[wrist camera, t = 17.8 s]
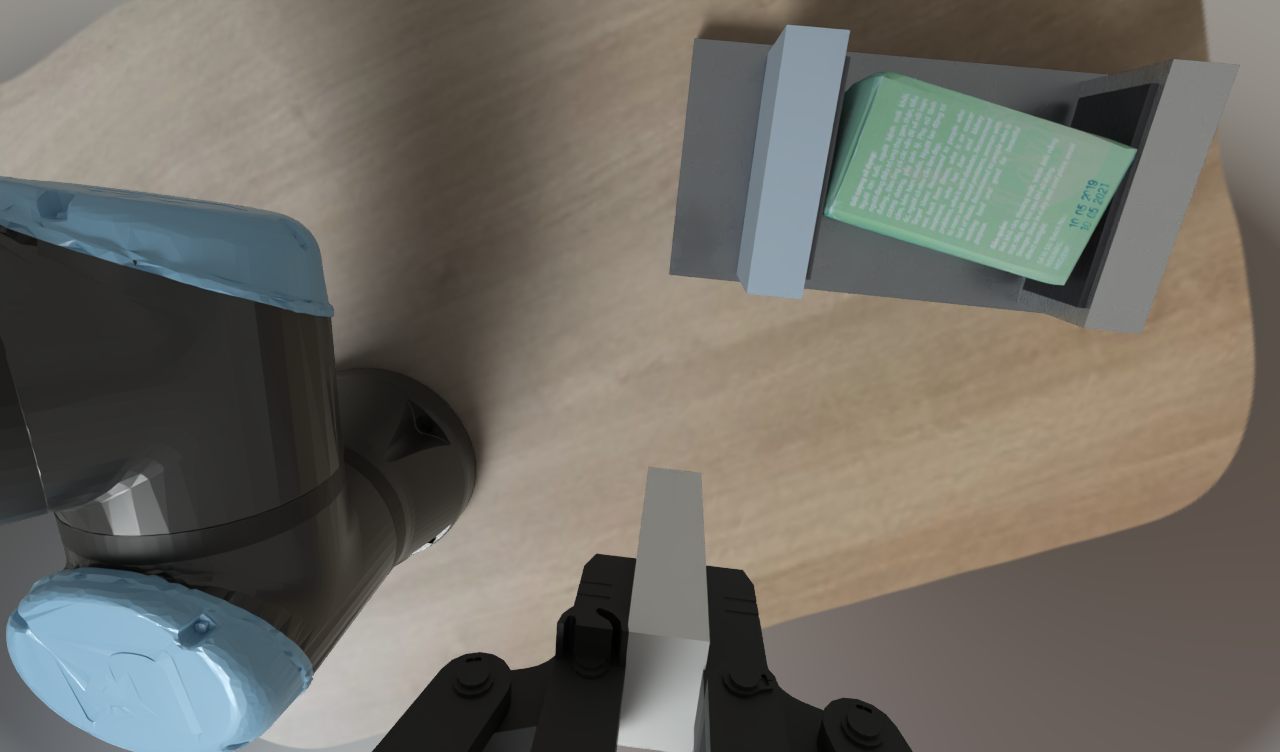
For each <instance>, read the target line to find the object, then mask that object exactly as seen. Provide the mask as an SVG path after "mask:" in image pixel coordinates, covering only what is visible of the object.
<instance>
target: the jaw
mask: <svg viewBox="0 0 1280 752" xmlns="http://www.w3.org/2000/svg"><path fill="white" fill-rule="evenodd" d="M849 34H850V30H843V29H831V28H820V27H808V26H796V25H786V27H785V28H784V30H783V31H782V33H781V34H780V36H779V37H778V39H777V40H776V42H775V44H774V45H773V47H772V48H771V50H770V51H769V53H768V57H767V64H766V71H765V78H764V85H763V92H762V99H761V106H760V113H759V120H758V127H757V134H756V141H755V148H754V155H753V162H752V169H751V176H750V183H749V190H748V197H747V204H746V211H745V218H744V225H743V232H742V239H741V246H740V253H739V260H738V267H737V276H738V278H739V280H740V282H741V284H742V286H743V288H744V289H745V291H746V293H747V294H756V295H765V296H775V297H785V298H794V299H802V296H803V290H804V284H805V279H806V280H810V279H811V274H812V268H813V263H814V257H815V252H816V246H817V241H818V236H819V230H820V225H821V219H822V214H823V208H824V203H825V197H826V192H827V186H828V181H829V175H830V170H831V164H832V159H833V153H834V148H835V142H836V137H837V131H838V126H839V120H840V115H841V109H842V104H843V98H844V93H845V87H846V82H847V76H848V71H849V65H850V60H851V57H849V56H846V50H847V45H848V39H849Z"/></svg>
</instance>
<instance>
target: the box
mask: <svg viewBox="0 0 1280 752" xmlns="http://www.w3.org/2000/svg"><path fill="white" fill-rule="evenodd" d="M1136 152H1137V149H1135V148H1132V147H1130V146H1127V145H1124V144H1122V143H1119V142H1116V141H1114V140H1111V139H1108V138H1105V137H1101V136H1098V135H1095V134H1091V133H1088V132H1085V131H1081V130H1078V129H1075V128H1072V127H1068V126H1065V125H1062V124H1058V123H1055V122H1052V121H1049V120H1045V119H1042V118H1039V117H1036V116H1032V115H1029V114H1026V113H1022V112H1019V111H1016V110H1013V109H1009V108H1006V107H1003V106H1000V105H997V104H994V103H991V102H988V101H985V100H981V99H978V98H975V97H972V96H969V95H965V94H962V93H959V92H956V91H952V90H949V89H946V88H943V87H939V86H936V85H933V84H930V83H927V82H924V81H920V80H917V79H914V78H911V77H908V76H905V75H903V74H900V73H898V72H895V71H882V72H876V73H874V74H872V75H870V76H868V77H866V78H864V79H862V80H860V81H858V82H855V83H854V84H853V85H852V86H851V87H850V88H849V89H848V90H847V91H846V93H845V95H844V99H843V104H842V109H841V115H840V120H839V126H838V131H837V137H836V142H835V148H834V153H833V159H832V164H831V170H830V175H829V181H828V186H827V192H826V197H825V203H824V208H823V214H822V215H823V216H826V217H829V218H832V219H835V220H838V221H841V222H845V223H848V224H851V225H854V226H857V227H860V228H864V229H867V230H870V231H874V232H877V233H880V234H884V235H887V236H890V237H894V238H897V239H900V240H903V241H907V242H910V243H913V244H917V245H920V246H923V247H927V248H930V249H933V250H937V251H940V252H944V253H947V254H950V255H954V256H957V257H960V258H964V259H967V260H970V261H974V262H977V263H980V264H983V265H987V266H990V267H993V268H997V269H1000V270H1003V271H1007V272H1010V273H1013V274H1017V275H1020V276H1023V277H1027V278H1030V279H1033V280H1037V281H1040V282H1044V283H1049V284H1054V285H1065V283H1066V281H1067V279H1068V277H1069V276H1070V274H1071V272H1072V270H1073V268H1074V266H1075V265H1076V263H1077V261H1078V259H1079V257H1080V255H1081V254H1082V252H1083V250H1084V248H1085V246H1086V245H1087V243H1088V241H1089V239H1090V237H1091V235H1092V234H1093V232H1094V230H1095V228H1096V226H1097V224H1098V223H1099V221H1100V219H1101V217H1102V215H1103V214H1104V212H1105V210H1106V208H1107V206H1108V204H1109V203H1110V201H1111V199H1112V197H1113V195H1114V194H1115V192H1116V190H1117V188H1118V186H1119V184H1120V183H1121V181H1122V179H1123V177H1124V175H1125V173H1126V172H1127V170H1128V168H1129V166H1130V165H1131V163H1132V161H1133V159H1134V158H1135V155H1136Z"/></svg>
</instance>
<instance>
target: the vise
mask: <svg viewBox="0 0 1280 752" xmlns="http://www.w3.org/2000/svg"><path fill="white" fill-rule="evenodd" d="M772 47H773V45H766V44H755V43H743V42H732V41H720V40H709V39H697V38H694V48H693V57H692V66H691V76H690V85H689V94H688V104H687V113H686V122H685V132H684V141H683V150H682V160H681V169H680V178H679V188H678V197H677V206H676V216H675V225H674V234H673V244H672V253H671V262H670V272H669V275H679V276H689V277H698V278H708V279H718V280H727V281H737V282H740V280H739V278H738V276H737V267H738V260H739V253H740V246H741V239H742V232H743V225H744V218H745V211H746V204H747V197H748V190H749V183H750V176H751V169H752V162H753V155H754V148H755V141H756V134H757V127H758V120H759V113H760V106H761V99H762V92H763V85H764V78H765V71H766V64H767V57H768V53H769V51H770V50H771V48H772ZM846 56H849V57H851V60H850V65H849V71H848V76H847V82H846V87H845V93H846V91H847V90H848V89H849V88H850V87H851V86H852V85H853V84H854V83H855V82H858V81H860V80H862V79H864V78H866V77H868V76H870V75H872V74H874V73H876V72H882V71H895V72H898V73H900V74H903V75H905V76H908V77H911V78H914V79H917V80H920V81H924V82H927V83H930V84H933V85H936V86H939V87H943V88H946V89H949V90H952V91H956V92H959V93H962V94H965V95H969V96H972V97H975V98H978V99H981V100H985V101H988V102H991V103H994V104H997V105H1000V106H1003V107H1006V108H1009V109H1013V110H1016V111H1019V112H1022V113H1026V114H1029V115H1032V116H1036V117H1039V118H1042V119H1045V120H1049V121H1052V122H1055V123H1058V124H1062V125H1065V126H1068V127H1072V128H1075V129H1078V130H1081V131H1085V132H1088V133H1091V134H1095V135H1098V136H1101V137H1105V138H1108V139H1111V140H1114V141H1116V142H1119V143H1122V144H1124V145H1127V146H1130V147H1132V148H1135V149H1137V152H1136V155H1135V158H1134V159H1133V161H1132V163H1131V165H1130V166H1129V168H1128V170H1127V172H1126V173H1125V175H1124V177H1123V179H1122V181H1121V183H1120V184H1119V186H1118V188H1117V190H1116V192H1115V194H1114V195H1113V197H1112V199H1111V201H1110V203H1109V204H1108V206H1107V208H1106V210H1105V212H1104V214H1103V215H1102V217H1101V219H1100V221H1099V223H1098V224H1097V226H1096V228H1095V230H1094V232H1093V234H1092V235H1091V237H1090V239H1089V241H1088V243H1087V245H1086V246H1085V248H1084V250H1083V252H1082V254H1081V255H1080V257H1079V259H1078V261H1077V263H1076V265H1075V266H1074V268H1073V270H1072V272H1071V274H1070V276H1069V277H1068V279H1067V281H1066V283H1065V285H1054V284H1049V283H1044V282H1040V281H1037V280H1033V279H1030V278H1027V277H1023V276H1020V275H1017V274H1013V273H1010V272H1007V271H1003V270H1000V269H997V268H993V267H990V266H987V265H983V264H980V263H977V262H974V261H970V260H967V259H964V258H960V257H957V256H954V255H950V254H947V253H944V252H940V251H937V250H933V249H930V248H927V247H923V246H920V245H917V244H913V243H910V242H907V241H903V240H900V239H897V238H894V237H890V236H887V235H884V234H880V233H877V232H874V231H870V230H867V229H864V228H860V227H857V226H854V225H851V224H848V223H845V222H841V221H838V220H835V219H832V218H829V217H826V216H823V215H822V219H821V225H820V230H819V236H818V241H817V246H816V252H815V257H814V263H813V268H812V274H811V279H810V280H806V279H805V284H804V288H805V289H814V290H824V291H834V292H843V293H853V294H863V295H872V296H882V297H892V298H901V299H911V300H921V301H930V302H940V303H950V304H959V305H969V306H979V307H988V308H998V309H1008V310H1017V311H1027V312H1037V313H1045V314H1048V315H1050V316H1053V317H1056V318H1058V319H1061V320H1064V321H1066V322H1069V323H1072V324H1074V325H1077V326H1080V327H1082V328H1088V329H1098V330H1108V331H1117V332H1127V333H1136V334H1141V333H1142V330H1143V327H1144V325H1145V322H1146V319H1147V316H1148V314H1149V311H1150V308H1151V306H1152V303H1153V300H1154V297H1155V295H1156V292H1157V289H1158V286H1159V284H1160V281H1161V278H1162V276H1163V273H1164V270H1165V267H1166V265H1167V262H1168V259H1169V257H1170V254H1171V251H1172V248H1173V246H1174V243H1175V240H1176V237H1177V235H1178V232H1179V229H1180V227H1181V224H1182V221H1183V218H1184V216H1185V213H1186V210H1187V208H1188V205H1189V202H1190V199H1191V197H1192V194H1193V191H1194V188H1195V186H1196V183H1197V180H1198V178H1199V175H1200V172H1201V169H1202V167H1203V164H1204V161H1205V159H1206V156H1207V153H1208V150H1209V148H1210V145H1211V142H1212V140H1213V137H1214V134H1215V131H1216V129H1217V126H1218V123H1219V120H1220V118H1221V115H1222V112H1223V109H1224V107H1225V104H1226V101H1227V99H1228V96H1229V93H1230V90H1231V88H1232V85H1233V82H1234V80H1235V77H1236V74H1237V71H1238V68H1239V66H1240V65H1236V64H1225V63H1213V62H1202V61H1190V60H1178V59H1172V60H1168V61H1164V62H1160V63H1156V64H1152V65H1148V66H1144V67H1140V68H1135V69H1131V70H1127V71H1123V72H1119V73H1115V74H1111V75H1108V74H1097V73H1086V72H1074V71H1063V70H1051V69H1040V68H1029V67H1017V66H1006V65H994V64H983V63H971V62H960V61H949V60H937V59H926V58H914V57H903V56H892V55H880V54H869V53H857V52H846ZM845 93H844V95H845ZM843 99H844V98H843Z"/></svg>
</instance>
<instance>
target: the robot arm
mask: <svg viewBox="0 0 1280 752" xmlns="http://www.w3.org/2000/svg"><path fill="white" fill-rule="evenodd" d="M333 316H334V309H333V306H332V305H331V304H329V301H328V296H327V290H326V285H325V279H324V273H323V266H322V259H321V253H320V249H319V246H318V243H317V241H316V239H315V238H314V236H313V235H312V233H311V232H310V231H309V230H308V229H307V228H306V227H305V226H304V225H303V224H301V223H300V222H298V221H297V220H295V219H293V218H291V217H289V216H286V215H284V214H280V213H276V212H272V211H267V210H261V209H256V208H250V207H244V206H238V205H232V204H225V203H218V202H212V201H205V200H198V199H190V198H183V197H175V196H168V195H161V194H153V193H146V192H138V191H130V190H122V189H114V188H106V187H98V186H89V185H81V184H72V183H61V182H51V181H38V180H26V179H18V178H12V177H3V176H0V526H2V525H6V524H10V523H13V522H17V521H21V520H25V519H28V518H32V517H36V516H40V515H44V514H48V513H52V512H54V514H55V518H56V521H57V525H58V528H59V532H60V535H61V540H62V544H63V547H64V551H65V555H66V566H65V568H64V570H62V571H61V572H53V573H51V574H49V575H47V576H46V577H44V578H42V579H41V580H39V581H37V582H36V583H35V584H34V585H33V586H32V588H31V591H30V593H28V594H27V595H26V596H25V597H24V598H23V599H22V600H21V601H20V604H19V607H18V608H16V609H15V610H14V611H13V613H12V614H11V615H10V617H9V621H8V624H7V628H6V639H7V646H8V651H9V654H10V657H11V659H12V662H13V664H14V666H15V668H16V670H17V671H18V673H19V674H20V676H21V677H22V679H23V680H24V681H25V683H26V684H27V685H28V687H29V688H30V689H31V690H32V691H33V692H34V693H35V694H36V696H37V697H39V698H40V699H41V700H42V701H43V702H44V703H45V704H46V705H47V706H48V707H49V708H51V709H52V710H53V711H55V712H56V713H57V714H58V715H60V716H61V717H63V718H64V719H66V720H67V721H69V722H70V723H71V724H73V725H75V726H76V727H79V728H81V729H82V730H85V731H86V732H88V733H89V734H91V735H93V736H95V737H97V738H99V739H101V740H103V741H105V742H108V743H110V744H113V745H115V746H118V747H121V748H124V749H127V750H130V751H133V752H233V751H236V750H237V749H240V748H242V747H244V746H246V745H247V744H249V743H250V742H251V741H253V740H255V739H256V738H258V737H259V736H261V735H262V734H264V733H265V732H266V731H267V730H268V729H269V728H270V727H271V726H272V725H273V723H274V722H275V721H276V720H277V719H278V718H279V717H280V715H281V714H282V713H283V712H284V711H285V710H286V709H287V708H288V707H289V705H290V704H291V703H292V702H293V701H294V700H295V699H296V698H297V697H298V696H299V695H301V694H302V693H304V692H305V690H306V689H307V688H308V687H309V685H310V684H311V681H312V680H313V678H312V676H313V675H314V673H315V672H316V670H317V669H318V668H319V666H320V665H321V664H322V662H323V661H324V660H325V658H326V657H327V656H328V654H329V653H330V652H331V650H332V649H333V648H334V646H335V645H336V644H337V642H338V641H339V640H340V638H341V637H342V636H343V634H344V633H345V632H346V630H347V629H348V628H349V626H350V625H351V623H352V622H353V621H354V619H355V618H356V617H357V615H358V614H359V613H360V611H361V610H362V609H363V607H364V606H365V605H366V603H367V602H368V601H369V599H370V598H371V597H372V595H373V594H374V593H375V591H376V590H377V589H378V587H379V586H380V585H381V583H382V582H383V581H384V579H385V578H386V576H387V575H388V574H389V573H390V571H391V570H392V569H393V567H394V566H396V565H398V564H400V563H401V562H403V561H404V560H406V559H407V558H408V557H410V555H412V554H415V553H418V552H420V551H422V550H424V549H426V548H428V547H429V546H431V545H432V544H434V543H436V542H437V541H438V540H439V539H441V538H442V537H443V536H444V535H445V534H446V533H447V532H448V531H449V530H450V529H451V528H452V526H453V525H454V524H455V522H456V521H457V519H458V518H459V517H460V515H461V514H462V512H463V511H464V509H465V507H466V506H467V504H468V502H469V500H470V497H471V495H472V492H473V488H474V483H475V473H476V468H475V457H474V452H473V448H472V445H471V442H470V439H469V437H468V434H467V432H466V430H465V428H464V426H463V424H462V423H461V421H460V420H459V418H458V417H457V415H456V414H455V413H454V411H453V410H452V409H451V408H450V407H449V406H448V405H447V404H446V403H445V402H444V401H443V400H442V399H441V398H440V397H439V396H438V395H437V394H435V393H434V392H433V391H431V390H430V389H429V388H427V387H426V386H424V385H422V384H421V383H419V382H417V381H415V380H413V379H411V378H409V377H406V376H404V375H401V374H398V373H395V372H391V371H387V370H381V369H372V368H360V369H351V370H346V371H342V372H339V373H336V368H335V357H334V345H333V334H332V322H331V317H333ZM758 615H759V614H758V608H757V604H756V596H755V590H754V585H753V583H752V582H751V581H750V579H749V578H748V577H747V575H746V574H745V572H744V571H743V570H738V569H730V568H722V567H713V566H706V559H705V539H704V520H703V501H702V481H701V473H698V472H690V471H681V470H672V469H664V468H655V467H648V475H647V482H646V490H645V498H644V506H643V513H642V521H641V529H640V536H639V544H638V552H637V559H636V558H627V557H619V556H611V555H603V554H596V555H595V556H594V557H593V558H592V559H591V560H590V561H589V562H588V563H587V564H586V565H585V566H584V569H583V573H582V577H581V581H580V584H579V588H578V592H577V596H576V600H575V603H574V606H573V607H571V608H570V609H568V610H567V611H566V612H564V613H563V614H562V615H561V617H560V619H559V621H558V622H557V636H556V653H555V656H554V657H553V658H551V659H550V660H549V661H547V662H545V663H543V664H540V665H538V666H534V667H530V668H525V669H518V670H510V668H509V667H508V665H507V664H506V663H505V661H504V660H502V659H501V658H499V657H497V656H495V655H493V654H488V653H482V652H478V653H470V654H465V655H462V656H460V657H458V658H455V659H453V660H451V661H450V662H449V663H448V664H447V665H446V666H444V667H443V668H442V669H441V670H440V671H439V673H438V674H437V675H436V676H435V677H434V678H433V680H432V681H431V682H430V683H429V684H428V686H427V687H426V688H425V689H424V690H423V692H422V693H421V694H420V695H419V696H418V698H417V699H416V700H415V701H414V702H413V704H412V705H411V706H410V707H409V708H408V709H407V711H406V712H405V713H404V714H403V715H402V717H401V718H400V719H399V720H398V721H397V723H396V724H395V725H394V726H393V727H392V729H391V730H390V731H389V732H388V733H387V735H386V736H385V737H384V738H383V739H382V741H381V742H380V743H379V744H378V745H377V746H376V748H375V749H374V750H373V751H372V752H616V751H617V745H622V746H630V747H637V748H645V749H652V750H660V751H667V752H692V751H693V745H694V752H912V750H911V748H910V747H909V745H908V744H907V742H906V741H905V739H904V738H903V736H902V734H901V733H900V731H899V730H898V728H897V727H896V725H894V723H893V722H892V721H891V720H890V719H889V717H888V716H887V715H886V714H884V713H883V712H882V711H880V710H879V709H877V708H876V707H875V706H873V705H871V704H869V703H866V702H863V701H861V700H858V699H850V698H841V699H838V700H834V701H831V702H830V703H829V704H828V706H827V707H826V708H825V709H824V710H821V709H819V708H816V707H813V706H811V705H809V704H806V703H804V702H802V701H800V700H797V699H796V698H794V697H792V696H790V695H789V694H788V693H786V692H785V691H784V690H782V689H781V688H780V687H779V685H778V683H777V681H776V678H775V676H774V675H773V674H772V673H771V672H770V671H769V669H768V666H767V661H766V655H765V650H764V644H763V637H762V632H761V626H760V620H759V617H758Z"/></svg>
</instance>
